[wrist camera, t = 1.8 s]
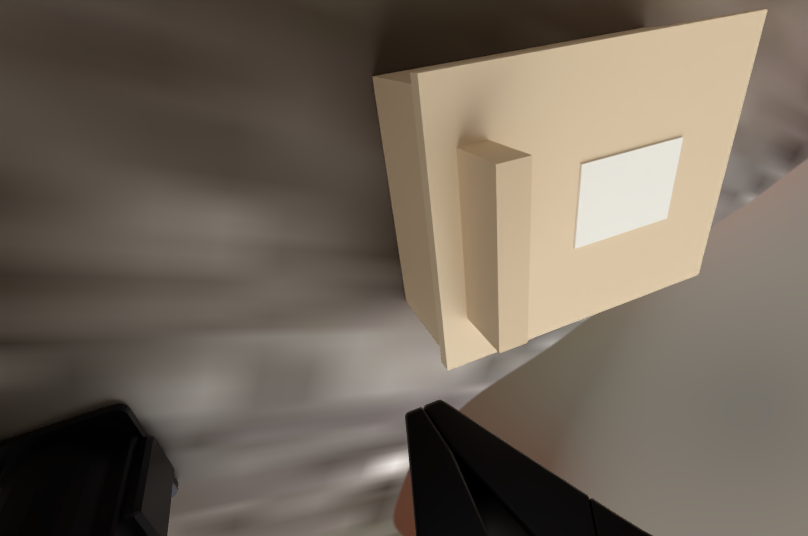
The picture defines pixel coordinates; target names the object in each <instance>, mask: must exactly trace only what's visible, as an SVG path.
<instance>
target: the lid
mask: <svg viewBox="0 0 808 536" xmlns="http://www.w3.org/2000/svg"><path fill="white" fill-rule="evenodd" d="M767 10H768V9H762V10H750V11H744V12H739V13H733V14H728V15H722V16H717V17H711V18H706V19H700V20H695V21H689V22H684V23H678V24H673V25H667V26H662V27H656V28H651V29H645V30H640V31H634V32H629V33H623V34H618V35H612V36H607V37H601V38H596V39H590V40H585V41H579V42H574V43H568V44H563V45H557V46H552V47H546V48H541V49H535V50H530V51H524V52H519V53H514V54H508V55H503V56H497V57H492V58H486V59H481V60H475V61H470V62H464V63H459V64H453V65H448V66H442V67H437V68H431V69H426V70H420V71H415V72H410V78H411V87H412V96H413V106H414V115H415V124H416V133H417V142H418V151H419V160H420V170H421V179H422V188H423V197H424V206H425V215H426V224H427V233H428V243H429V252H430V261H431V270H432V279H433V288H434V297H435V306H436V316H437V325H438V334H439V343H440V352H441V361H442V363H443V365H444V366H445V368H446V369H447V371H448V370H451V369H453V368H456V367H459V366H461V365H464V364H466V363H469V362H472V361H474V360H477V359H480V358H482V357H485V356H487V355H490V354H493V353H495V352H498V353H502V352H504V351H507V350H510V349H512V348H515V347H517V346H520V345H523V344H525V343H528V340H529V339H532V338H534V337H537V336H539V335H542V334H545V333H547V332H550V331H553V330H555V329H558V328H560V327H563V326H566V325H568V324H571V323H573V322H576V321H579V320H581V319H584V318H586V317H589V316H592V315H594V314H597V313H599V312H602V311H605V310H607V309H610V308H613V307H615V306H618V305H620V304H623V303H626V302H628V301H631V300H633V299H636V298H639V297H641V296H644V295H646V294H649V293H651V292H654V291H657V290H659V289H662V288H665V287H667V286H670V285H672V284H675V283H678V282H680V281H683V280H685V279H688V278H691V277H693V276H696V275H698V274H699V270H700V267H701V263H702V259H703V255H704V251H705V247H706V243H707V240H708V236H709V232H710V228H711V224H712V221H713V217H714V213H715V209H716V205H717V201H718V198H719V194H720V190H721V186H722V182H723V178H724V175H725V171H726V167H727V163H728V159H729V155H730V152H731V148H732V144H733V140H734V136H735V132H736V129H737V125H738V121H739V117H740V113H741V109H742V106H743V102H744V98H745V94H746V90H747V86H748V83H749V79H750V75H751V71H752V67H753V63H754V60H755V56H756V52H757V48H758V44H759V40H760V37H761V33H762V29H763V25H764V21H765V17H766V14H767Z"/></svg>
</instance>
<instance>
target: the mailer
mask: <svg viewBox="0 0 808 536" xmlns="http://www.w3.org/2000/svg"><path fill="white" fill-rule="evenodd" d="M661 27H662V26H661ZM651 28H656V27H644V28H638V29H633V30H627V31H621V32H616V33H610V34H605V35H599V36H594V37H588V38H583V39H577V40H572V41H566V42H560V43H555V44H549V45H544V46H538V47H533V48H527V49H522V50H516V51H510V52H505V53H499V54H494V55H488V56H483V57H477V58H472V59H466V60H461V61H455V62H449V63H444V64H438V65H433V66H427V67H422V68H416V69H411V70H405V71H399V72H394V73H388V74H383V75H377V76H372V78H373V84H374V91H375V98H376V104H377V111H378V117H379V124H380V131H381V137H382V144H383V151H384V157H385V164H386V170H387V177H388V184H389V190H390V197H391V204H392V210H393V217H394V223H395V230H396V237H397V243H398V250H399V257H400V263H401V270H402V276H403V283H404V290H405V296H406V301H407V303H408V304H409V305H410V307H411V308H412V309H413V311H414V312H415V314H416V315H417V316H418V318H419V319H420V320H421V322H422V323H423V324H424V326H425V327H426V329H427V330H428V331H429V333H430V334H431V335H432V337H433V338H434V339H435V341H436V342H437V344H438V345H439V346H440V343H439V334H438V325H437V316H436V306H435V297H434V288H433V279H432V270H431V261H430V252H429V243H428V233H427V224H426V215H425V206H424V197H423V188H422V179H421V170H420V160H419V151H418V142H417V133H416V124H415V115H414V106H413V96H412V87H411V78H410V72H415V71H420V70H426V69H431V68H437V67H442V66H448V65H453V64H459V63H464V62H470V61H475V60H481V59H486V58H492V57H497V56H503V55H508V54H514V53H519V52H524V51H530V50H535V49H541V48H546V47H552V46H557V45H563V44H568V43H574V42H579V41H585V40H590V39H596V38H601V37H607V36H612V35H618V34H623V33H629V32H634V31H640V30H645V29H651Z"/></svg>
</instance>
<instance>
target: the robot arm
mask: <svg viewBox="0 0 808 536" xmlns="http://www.w3.org/2000/svg"><path fill="white" fill-rule="evenodd" d="M115 414H118V415H121V416H119V417H115V416H113V415H115ZM405 421H406V432H407V443H408V453H409V464H410V475H411V486H412V497H413V507H414V518H415V529H416V536H652V535H650V534H649V533H647V532H645V531H643V530H642V529H640V528H638V527H637V526H635V525H633V524H632V523H630V522H629V521H627V520H626V519H624V518H622V517H620V516H619V515H618V514H616V513H614V512H613V511H611V510H610V509H608V508H606V507H605V506H603V505H602V504H600V503H599V502H597V501H596V500H594V499H593V498H591V499H589V497H588V495H587V494H585V493H583V492H582V491H580V490H579V489H577V488H576V487H574V486H573V485H571V484H570V483H568V482H567V481H565V480H564V479H562V478H561V477H559V476H557V475H556V474H554V473H553V472H551V471H550V470H548V469H547V468H545V467H544V466H542V465H541V464H539V463H538V462H536V461H535V460H533V459H531V458H530V457H528V456H527V455H525V454H524V453H522V452H521V451H519V450H518V449H516V448H515V447H513V446H512V445H510V444H508V443H507V442H505V441H504V440H502V439H501V438H499V437H498V436H496V435H495V434H493V433H492V432H490V431H489V430H487V429H486V428H484V427H482V426H481V425H479V424H478V423H476V422H475V421H473V420H472V419H470V418H469V417H467V416H466V415H464V414H462V413H461V412H460V411H458V410H457V409H455V408H454V407H452V406H450V405H449V404H447V403H446V402H444V401H442V400H437V401H435V402H432V403H430V404H427V405H425V406H424V409H423V408H421V407H420V408H417V409H415V410H412V411H410V412H407V413H406V415H405ZM177 491H178V481H177V480H176V478H175V477H174V468H173V466H172V464H171V463H170V461H169V460H168V458H167V457H166V455H165V453H164V452H163V450H162V449H161V447H160V446H159V444H158V443H157V441H156V439H155V438H154V437H152V436H150V435H147V434H146V432H145V431H144V429H143V428H142V426H141V424H140V423H139V421H138V420H137V418H136V417H135V415H134V414H133V412H132V411H131V409H130V408H129V407H128V406H127V405H124V404H114V405H110V406H107V407H104V408H101V409H98V410H95V411H92V412H89V413H86V414H83V415H80V416H77V417H74V418H71V419H68V420H65V421H62V422H59V423H56V424H53V425H50V426H47V427H44V428H41V429H38V430H35V431H32V432H29V433H26V434H23V435H20V436H17V437H14V438H11V439H8V440H5V441H2V442H0V536H167V532H168V523H169V514H170V504H171V497H173V496H175V495H176V494H177Z"/></svg>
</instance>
